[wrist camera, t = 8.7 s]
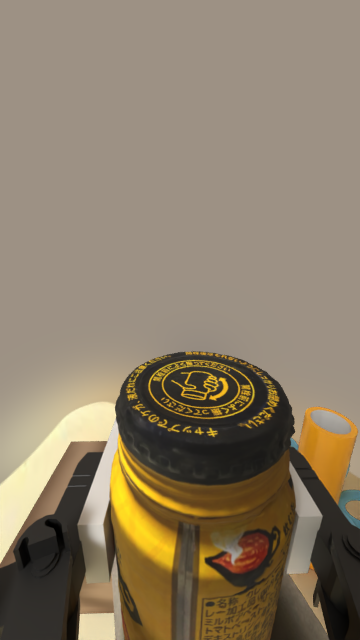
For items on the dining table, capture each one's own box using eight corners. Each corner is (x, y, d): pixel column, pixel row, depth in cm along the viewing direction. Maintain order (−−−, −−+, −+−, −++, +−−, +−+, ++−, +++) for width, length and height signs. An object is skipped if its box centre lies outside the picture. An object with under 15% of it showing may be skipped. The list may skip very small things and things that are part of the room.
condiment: (110, 553, 12) (88, 352, 8) (237, 494, 15) (256, 330, 12) (132, 930, 5) (71, 655, 2) (354, 681, 8) (469, 419, 5)
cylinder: (236, 552, 22) (250, 433, 18) (255, 470, 31) (267, 378, 27) (395, 658, 16) (467, 516, 12) (362, 519, 25) (398, 411, 21)
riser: (162, 475, 30) (162, 440, 28) (154, 611, 18) (153, 565, 17) (76, 476, 29) (71, 441, 28) (12, 615, 18) (-3, 569, 16)
